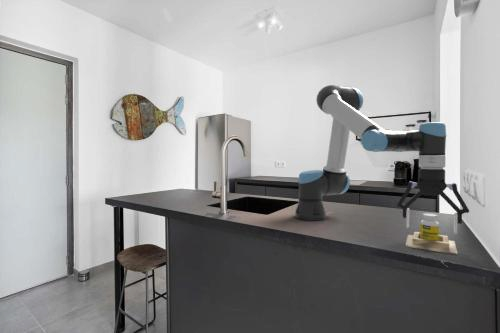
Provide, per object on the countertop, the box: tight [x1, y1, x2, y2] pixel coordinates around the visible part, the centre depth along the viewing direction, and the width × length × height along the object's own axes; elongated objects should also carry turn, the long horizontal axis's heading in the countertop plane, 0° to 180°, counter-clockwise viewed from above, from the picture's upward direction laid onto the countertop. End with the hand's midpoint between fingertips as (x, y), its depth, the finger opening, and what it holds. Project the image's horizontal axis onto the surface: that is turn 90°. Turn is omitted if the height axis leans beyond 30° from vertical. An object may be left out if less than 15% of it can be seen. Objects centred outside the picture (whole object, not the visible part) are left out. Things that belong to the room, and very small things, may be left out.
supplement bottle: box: [419, 213, 440, 241], centre depth 92 cm, size 5×5×10 cm
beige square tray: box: [404, 231, 458, 256], centre depth 92 cm, size 14×14×2 cm
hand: (430, 230), depth 92 cm, fingers open, 13 cm apart
